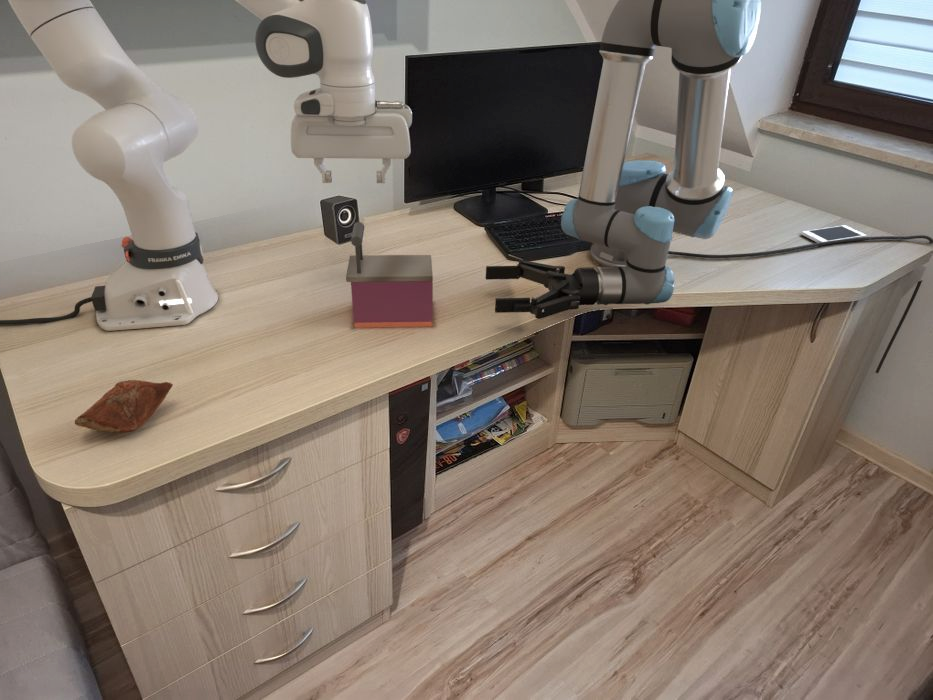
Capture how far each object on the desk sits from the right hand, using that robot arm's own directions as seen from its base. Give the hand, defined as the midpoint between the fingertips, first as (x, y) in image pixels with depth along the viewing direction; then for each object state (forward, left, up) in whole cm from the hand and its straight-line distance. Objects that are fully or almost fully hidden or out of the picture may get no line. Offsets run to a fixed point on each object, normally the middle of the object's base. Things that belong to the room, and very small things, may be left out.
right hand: (490, 288), depth 126 cm
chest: (+17, -9, -6) cm, 20 cm away
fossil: (+67, +3, -6) cm, 67 cm away
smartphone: (-104, +5, -6) cm, 104 cm away
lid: (+17, -9, +4) cm, 20 cm away
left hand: (+22, -12, +21) cm, 33 cm away
